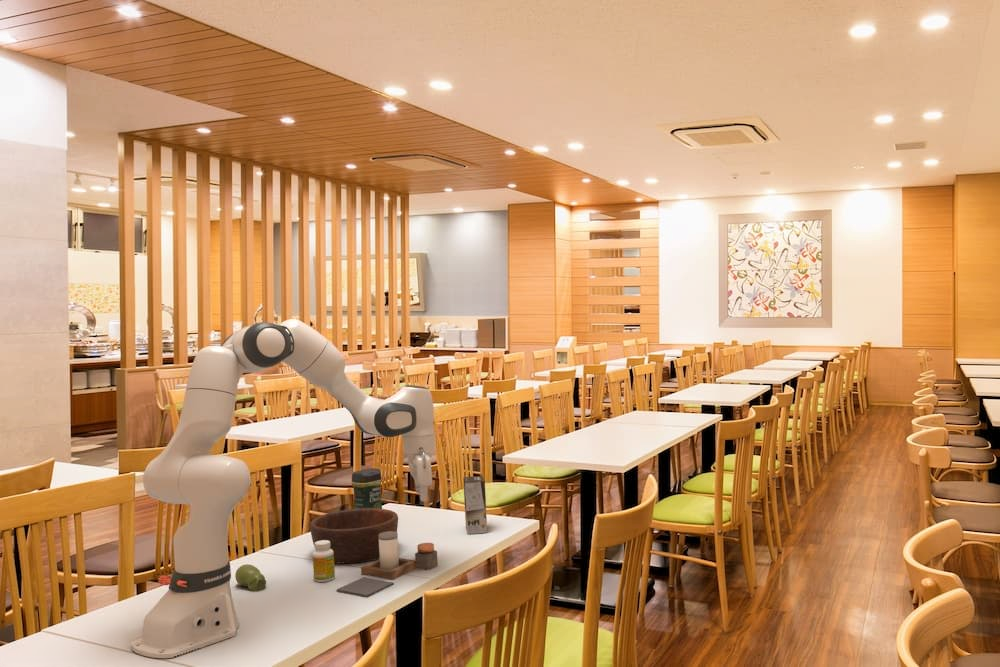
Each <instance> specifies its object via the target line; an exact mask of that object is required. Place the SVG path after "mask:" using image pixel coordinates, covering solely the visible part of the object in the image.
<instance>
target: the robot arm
mask: <svg viewBox="0 0 1000 667" xmlns="http://www.w3.org/2000/svg"><path fill="white" fill-rule="evenodd" d="M280 363H285V364H286V365H287V366H289V367H290V368H291V369H292V371H294V372H296V373H297V374H298V375H299V376H301V377H302V378H304V379H305V380H306V381H307V382H309V383H311V384H312V385H314V386H316V387H318V388H320V389H321V390H323V391H325V392H327V393H328V394H329V395H330V396H331V397H333V398H334V399H335V400H336V401H337V402H338V403H339V404H341V405H342V406H343V407H344V408H346V410H348V412H349V413H350V415H351V416H352V420H354V423H355V424H356V426H357V428H358V429H359V430H360V431H361V432H362V433H364V434H366V435H371V436H378V437H383V438H395V437H397V436H401V440H402V441H401V443H402V453H403V454H404V455H405V454H406V457H407V463H408V464H407V465H408V469H409V473H410V475H411V477H412V478H413V480H414V486H415V493H416V494H417V495H419V499H420V501H421V502H427V501H428V493H429V492H428V491H429V487H430V486H432V484H433V475H432V472H433V471H432V461H431V458H432V453H436V451H437V447H436V444H437V443H436V432H435V427H434V420H435V410H434V409H435V408H434V401H433V395H432V393H431V390H430V389H429V388H428V387H427V386H420V385H413V384H412V385H411V384H406V385H403V386H402V387H401V388H400V389H399V390H398V391H397V392H396V393H394V394H393V395H391V396H389V397H387V398H385V399H383V398H379V397H375V396H372V395H368V394H367V393H365V392H364V390H362V389H361V388H360V387H359V386H358V385H357V384H355V382H353V381H352V380H351V379H350V378H349V377H348V376H347V374H346V372H345V369H346V360H345V357H344V356H343V354H342V353H341V352H340V350H339V349H338V348H337V346H335V345H334V344H333V342H331V341H330V340H328V338H327V337H325V336H324V335H322V334H321V333H320V332H319V331H318V330H316V329H315V328H313V327H312V326H310V325H308V324H306V323H305V322H303V321H301V320H299V319H297V318H290V319H286V320H284V321H282V322H281V323H280V324H276V323H273V322H272V323H271V322H267V321H266V322H263V321H262V322H256V323H253V324H252V325H248V326H247V325H246V326H244V327H241V328H240V329H239V330H237V331H235V332H234V333H232V334H230V335H229V336H227V337H226V338H225V339H224V341H223V342H222V344H221V345H208V346H205V347H203V348H201V349H199V350H198V352H196V355H195V357H194V359H193V362H192V365H191V367H190V371H189V373H188V377H187V382H186V386H185V392H184V396H183V403H182V407H181V413H180V415H179V416H180V417H179V421H178V424H177V426H176V429H175V431H174V434H173V435H172V437H171V438H170V441H169V442H168V444H167V445H166V447H165V448H164V449H163V450H162V451H161V452H160V453H159V454H158V455H157V456H156V457H155V458H154V459H152V460H151V461H150V462H149V463H148V464H147V465H146V467H145V469H144V472H143V477H142V481H143V482H142V483H143V484H142V485H143V488H144V490H145V493H146V494H147V495H148V496H149V497H150V498H152V499H155V500H157V501H160V502H163V503H167V504H175V505H177V504H178V505H189V510H190V511H189V516H188V519H187V522H186V523H184V524H182V525H181V526H180V527H179V528H178V529H177V530H176V531H175V533H174V536H173V556H174V569H173V571H172V574H171V576H169V575H166V574H162V575H159V578H158V584H160V585H164V586H168V589H167V591H166V592H165V593H164V594H163V596H162V597H161V598H160V599H159V600H158V601H157V603H156V604H155V605H154V606H153V607H152V608H151V610H150V611H148V613H147V614H146V615H145V617H144V619H143V625H142V636H141V637H138V638H137V639H135V640H133V641H132V642H131V645H130V648H131V650H132V651H133V652H134V653H136V654H137V655H141V656H143V657H148V658H155V659H171V658H175V657H174V656H176V657H178V656H177V655H179V656H181V655H184V654H186V652H187V653H190V652H192V651H191V650H193V651H195V649H196V650H198V648H199V649H201V648H203V647H207V646H210V645H213V644H215V643H218V642H221V641H224V640H227V639H229V638H232V637H235V636H237V629H238V627H239V626H240V620H239V618H238V616H237V612H236V609H235V606H234V605H235V604H234V601H233V596H232V591H231V583H230V582H231V578H232V573H231V572H232V571H231V563H230V561H229V556H228V554H229V553H228V528H229V522H230V520H231V519H230V518H231V516H232V513H233V511H234V509H235V508H236V507H237V505H238V504H239V503H240V502H241V501H242V500H243V499H244V498H245V497H246V496H247V494H248V492H249V490H250V488H251V481H252V475H251V470H250V468H249V467H248V465H247V463H246V462H245V461H243V460H242V459H239V458H236V457H233V456H229V455H224V454H210V453H211V451H212V448H213V447H214V446H215V444H216V443H217V442H218V441H219V440H220V439H222V438H223V437H225V436H226V435H227V434H228V433H229V432H230V431H231V429H232V425H233V420H234V419H233V418H234V413H235V407H236V400H237V393H238V384H239V382H240V379H241V377H242V376H246V375H250V374H253V373H259V372H260V373H261V372H263V371H265V370H267V369H270V368H272V367H274V366H277V365H278V364H280ZM189 651H190V652H189ZM183 653H184V654H183ZM180 654H181V655H180Z"/></svg>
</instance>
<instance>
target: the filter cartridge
mask: <svg viewBox="0 0 1000 667" xmlns="http://www.w3.org/2000/svg"><path fill="white" fill-rule="evenodd" d="M398 535H399V534H398V531H397V532H393V531H388V532H382V533H380V534H379V556H380V558H379V559H380V568H383V569H390V570H392V569H394V568H396V567H398V566H399V558H400V557H399V538H398Z"/></svg>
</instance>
